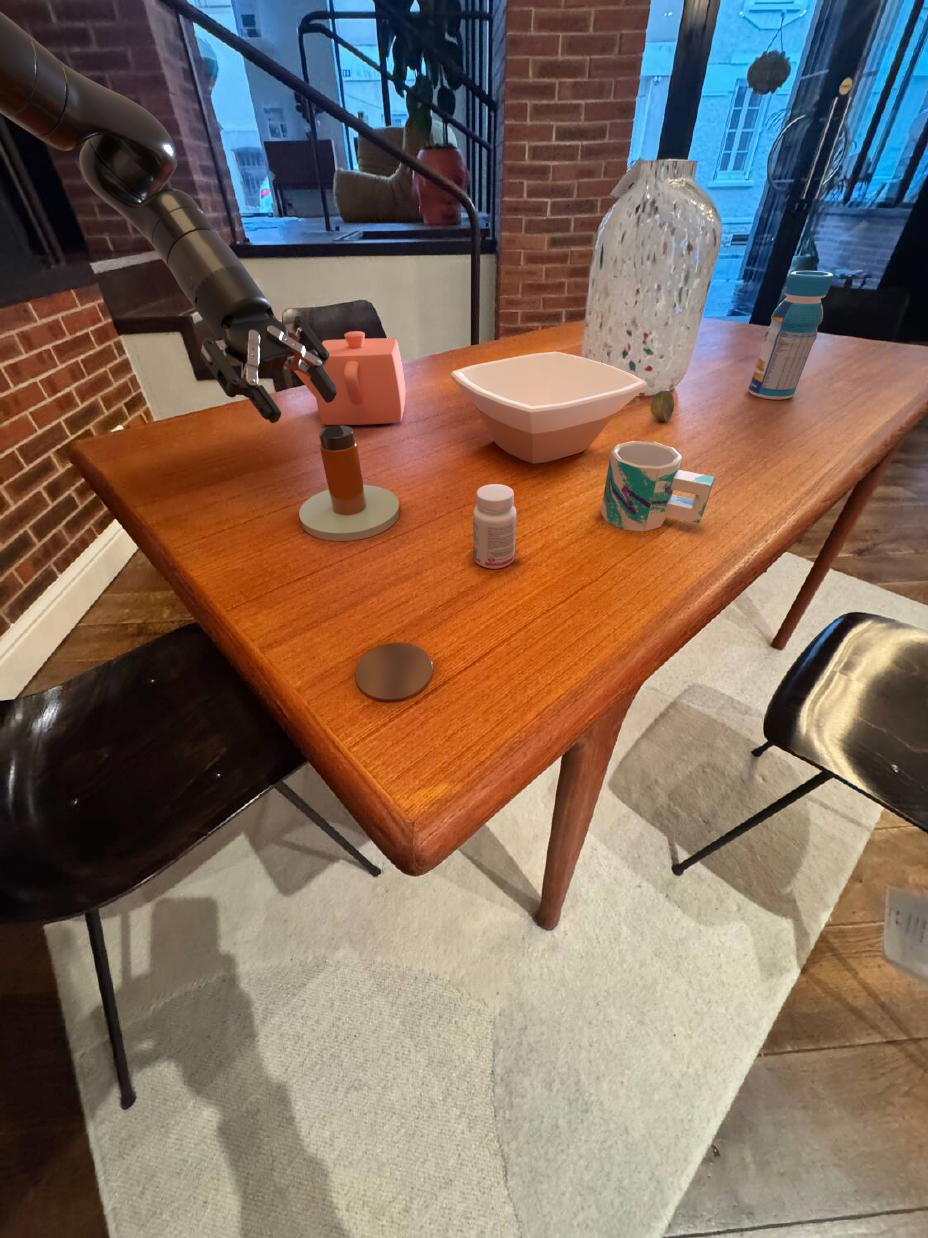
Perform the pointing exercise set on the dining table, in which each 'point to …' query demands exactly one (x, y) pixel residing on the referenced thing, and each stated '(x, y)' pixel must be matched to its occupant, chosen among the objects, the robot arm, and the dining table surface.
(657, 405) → the lime
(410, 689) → the coaster
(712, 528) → the dining table surface
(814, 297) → the beverage bottle
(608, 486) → the mug
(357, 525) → the plate
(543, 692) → the dining table surface
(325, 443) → the spice bottle
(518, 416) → the bowl
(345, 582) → the dining table surface
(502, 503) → the pill bottle
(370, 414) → the teapot
